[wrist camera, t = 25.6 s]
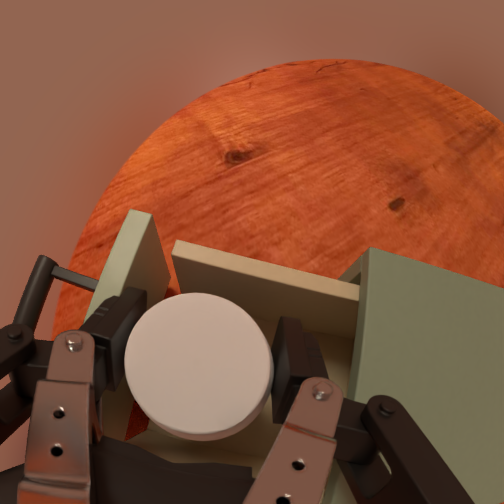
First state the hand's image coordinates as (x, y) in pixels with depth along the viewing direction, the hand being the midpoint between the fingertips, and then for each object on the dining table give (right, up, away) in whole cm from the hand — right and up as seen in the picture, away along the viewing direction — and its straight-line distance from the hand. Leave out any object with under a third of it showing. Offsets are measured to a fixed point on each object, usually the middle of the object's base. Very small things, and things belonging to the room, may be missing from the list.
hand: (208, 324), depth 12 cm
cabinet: (+12, -9, +7) cm, 16 cm away
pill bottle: (-1, -4, +4) cm, 6 cm away
